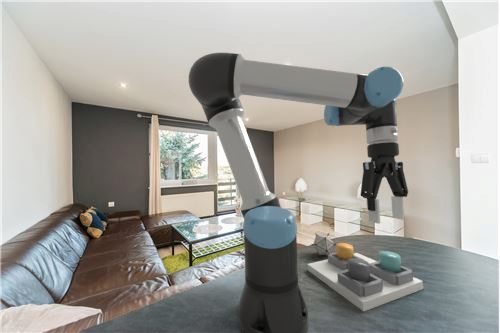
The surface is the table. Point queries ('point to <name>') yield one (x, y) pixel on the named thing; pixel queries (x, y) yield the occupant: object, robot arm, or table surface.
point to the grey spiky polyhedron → (323, 244)
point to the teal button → (390, 261)
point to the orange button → (344, 251)
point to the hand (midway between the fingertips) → (386, 220)
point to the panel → (365, 292)
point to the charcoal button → (359, 269)
